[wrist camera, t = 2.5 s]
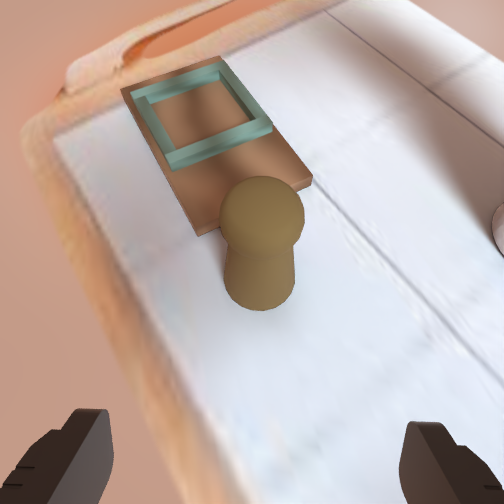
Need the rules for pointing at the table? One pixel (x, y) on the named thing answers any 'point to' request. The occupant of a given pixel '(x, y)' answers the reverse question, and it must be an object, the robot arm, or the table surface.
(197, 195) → the holder plate
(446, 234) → the table surface
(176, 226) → the table surface
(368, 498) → the table surface
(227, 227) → the cork
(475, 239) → the table surface
